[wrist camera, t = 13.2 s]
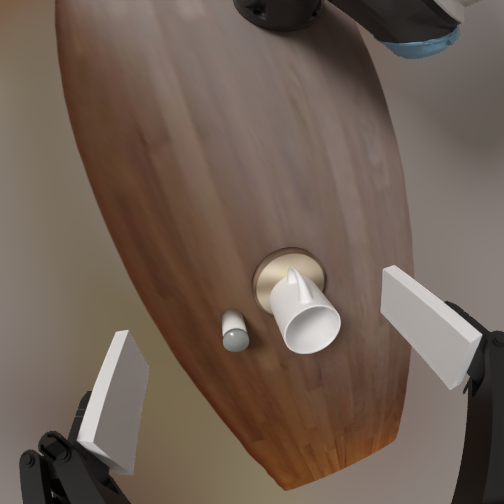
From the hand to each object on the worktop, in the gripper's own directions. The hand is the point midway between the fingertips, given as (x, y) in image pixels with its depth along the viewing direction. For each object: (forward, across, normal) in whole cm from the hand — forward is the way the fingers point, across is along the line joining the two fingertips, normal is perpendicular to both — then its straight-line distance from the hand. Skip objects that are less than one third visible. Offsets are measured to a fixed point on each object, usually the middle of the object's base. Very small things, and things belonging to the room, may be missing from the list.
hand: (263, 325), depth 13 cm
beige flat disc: (+31, +7, -16) cm, 36 cm away
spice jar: (+31, -4, -20) cm, 37 cm away
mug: (+29, +7, -16) cm, 34 cm away
